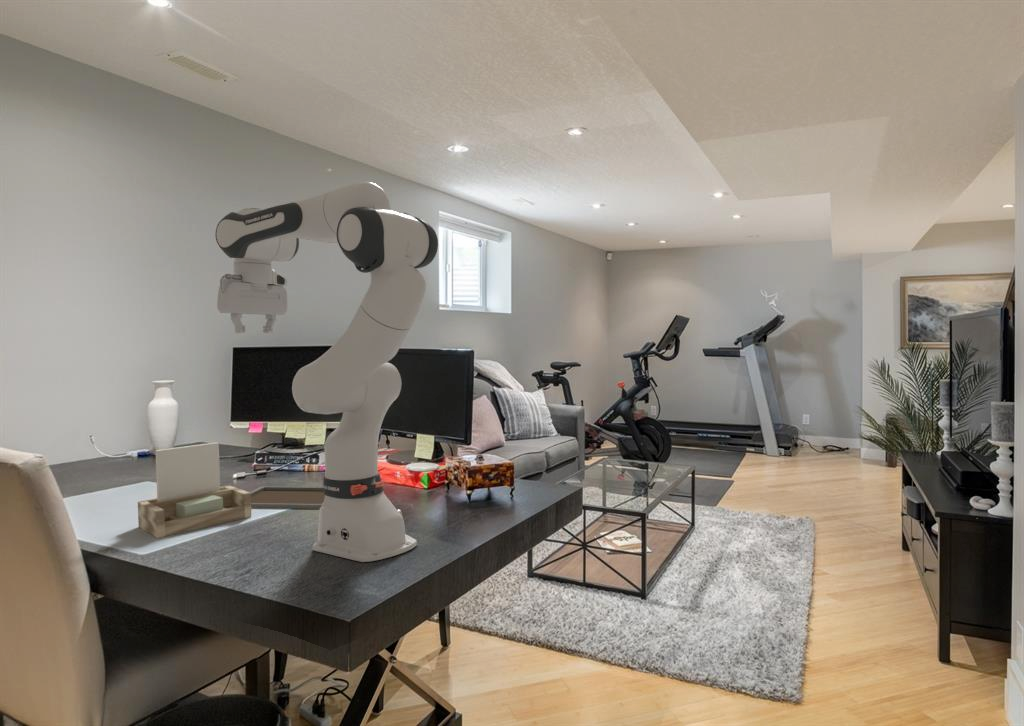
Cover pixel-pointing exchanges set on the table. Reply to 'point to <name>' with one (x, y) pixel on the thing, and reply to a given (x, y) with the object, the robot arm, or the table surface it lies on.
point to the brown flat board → (287, 497)
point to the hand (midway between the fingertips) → (254, 332)
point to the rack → (157, 515)
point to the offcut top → (199, 506)
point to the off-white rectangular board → (187, 471)
